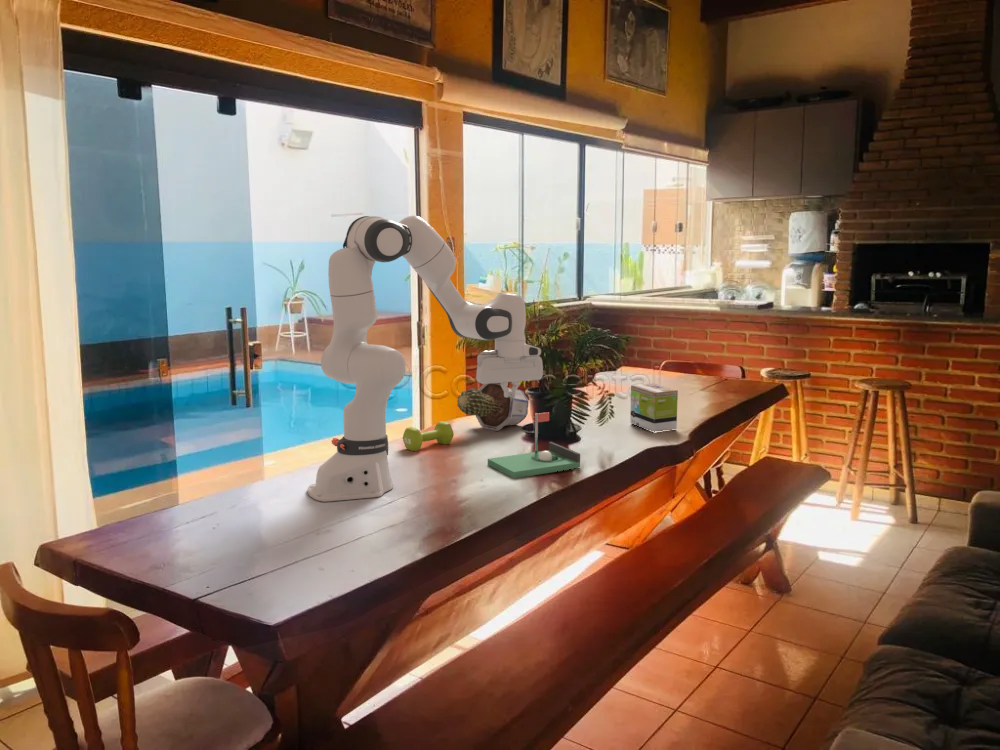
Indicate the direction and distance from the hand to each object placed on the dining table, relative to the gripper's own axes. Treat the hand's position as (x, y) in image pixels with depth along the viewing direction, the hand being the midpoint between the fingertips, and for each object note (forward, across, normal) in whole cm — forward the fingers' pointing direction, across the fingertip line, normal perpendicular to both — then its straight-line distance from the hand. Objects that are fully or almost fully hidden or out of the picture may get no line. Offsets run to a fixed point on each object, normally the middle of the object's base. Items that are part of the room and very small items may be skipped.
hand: (509, 397), depth 234 cm
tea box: (+20, +68, +21) cm, 74 cm away
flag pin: (+20, +13, +4) cm, 25 cm away
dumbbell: (+21, -12, +33) cm, 41 cm away
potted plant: (+20, +16, +45) cm, 52 cm away
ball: (+18, +10, -3) cm, 21 cm away
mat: (+21, +6, -3) cm, 22 cm away
